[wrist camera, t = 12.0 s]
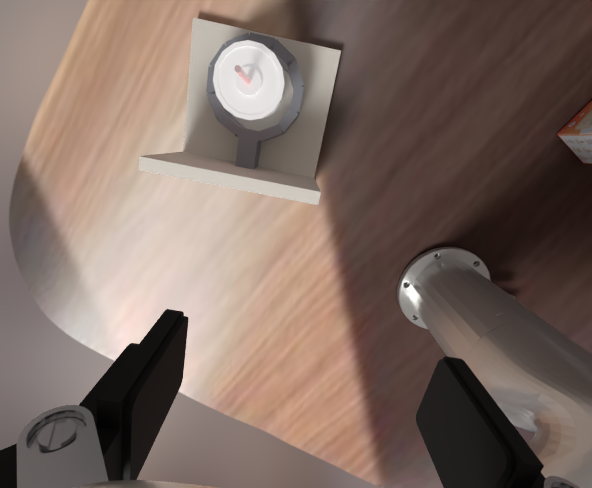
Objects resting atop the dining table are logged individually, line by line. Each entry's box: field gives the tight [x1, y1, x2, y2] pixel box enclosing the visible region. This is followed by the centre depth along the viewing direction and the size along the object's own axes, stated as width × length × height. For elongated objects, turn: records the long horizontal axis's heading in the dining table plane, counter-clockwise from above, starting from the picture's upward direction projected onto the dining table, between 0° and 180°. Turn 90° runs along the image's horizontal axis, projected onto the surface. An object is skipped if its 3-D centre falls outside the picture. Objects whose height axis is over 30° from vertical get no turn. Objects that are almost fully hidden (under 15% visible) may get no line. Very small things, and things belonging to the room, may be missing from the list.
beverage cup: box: [213, 40, 285, 120], centre depth 28 cm, size 6×6×14 cm
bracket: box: [139, 18, 341, 205], centre depth 31 cm, size 16×15×12 cm
